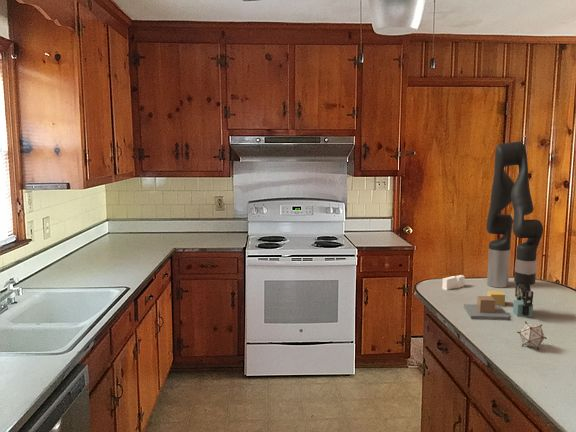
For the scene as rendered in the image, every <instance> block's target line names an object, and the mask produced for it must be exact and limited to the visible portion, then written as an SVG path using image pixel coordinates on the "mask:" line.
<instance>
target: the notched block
mask: <svg viewBox="0 0 576 432" xmlns="http://www.w3.org/2000/svg"><path fill="white" fill-rule="evenodd" d="M465 278H466V277H465V275H463V274H459V275H453V276H452V275H451V276H446V277H443V278H442V288H441V289H442V290H445V291H449V290H452V289H460V288H463V287H465Z"/></svg>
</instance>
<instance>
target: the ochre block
mask: <svg viewBox="0 0 576 432" xmlns="http://www.w3.org/2000/svg"><path fill="white" fill-rule="evenodd" d="M487 296H492V297H493V298H494V299H495V305H500V307H505V303H506V302H505V301H506V294H505V293H504V292H503V290H487Z"/></svg>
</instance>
